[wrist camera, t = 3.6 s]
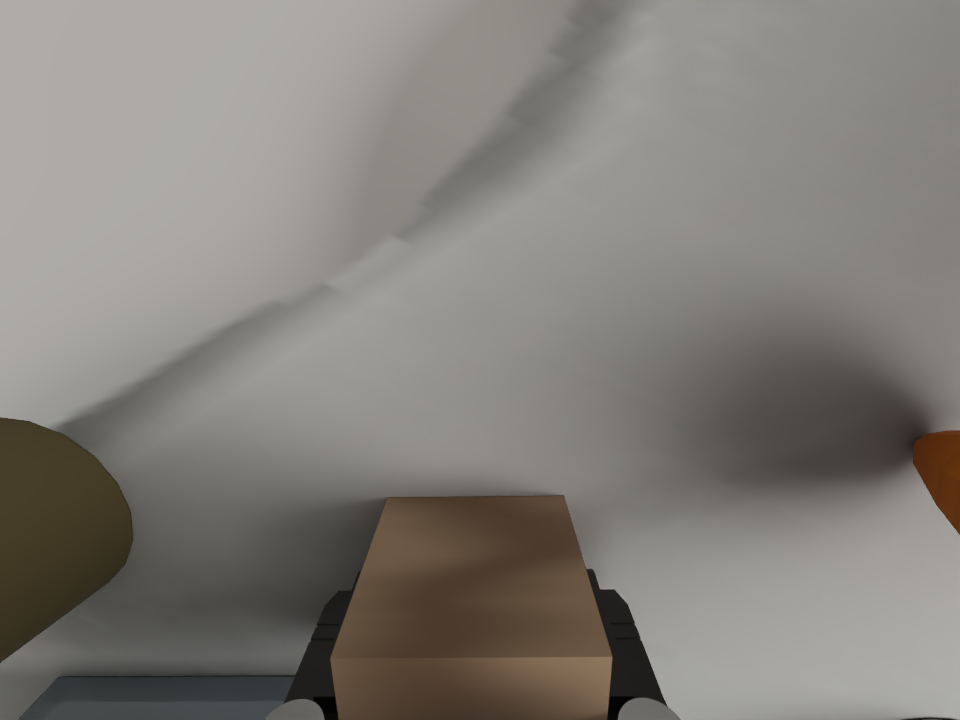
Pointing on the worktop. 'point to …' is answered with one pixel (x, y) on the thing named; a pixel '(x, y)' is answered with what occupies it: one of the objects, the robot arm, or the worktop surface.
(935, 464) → the carrot
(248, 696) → the tote
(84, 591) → the cork
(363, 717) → the walnut cube
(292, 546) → the worktop surface
